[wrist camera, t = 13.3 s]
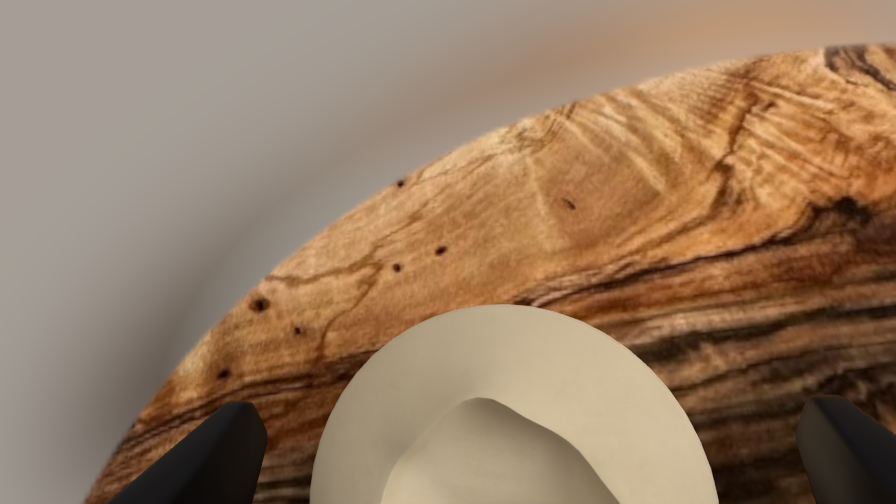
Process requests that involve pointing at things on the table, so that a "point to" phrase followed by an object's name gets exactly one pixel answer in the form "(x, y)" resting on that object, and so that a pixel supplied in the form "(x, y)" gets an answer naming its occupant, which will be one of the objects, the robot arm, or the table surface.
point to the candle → (508, 419)
